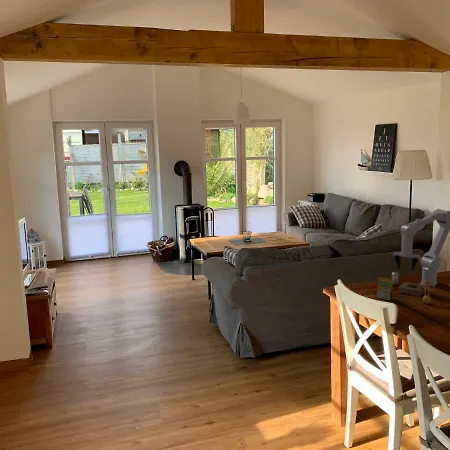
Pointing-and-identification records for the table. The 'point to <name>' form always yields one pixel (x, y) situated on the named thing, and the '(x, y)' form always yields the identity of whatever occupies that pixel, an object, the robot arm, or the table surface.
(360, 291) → the table surface
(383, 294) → the crayon box
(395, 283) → the metal peg
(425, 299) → the figurine
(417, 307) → the table surface
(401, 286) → the hole block
